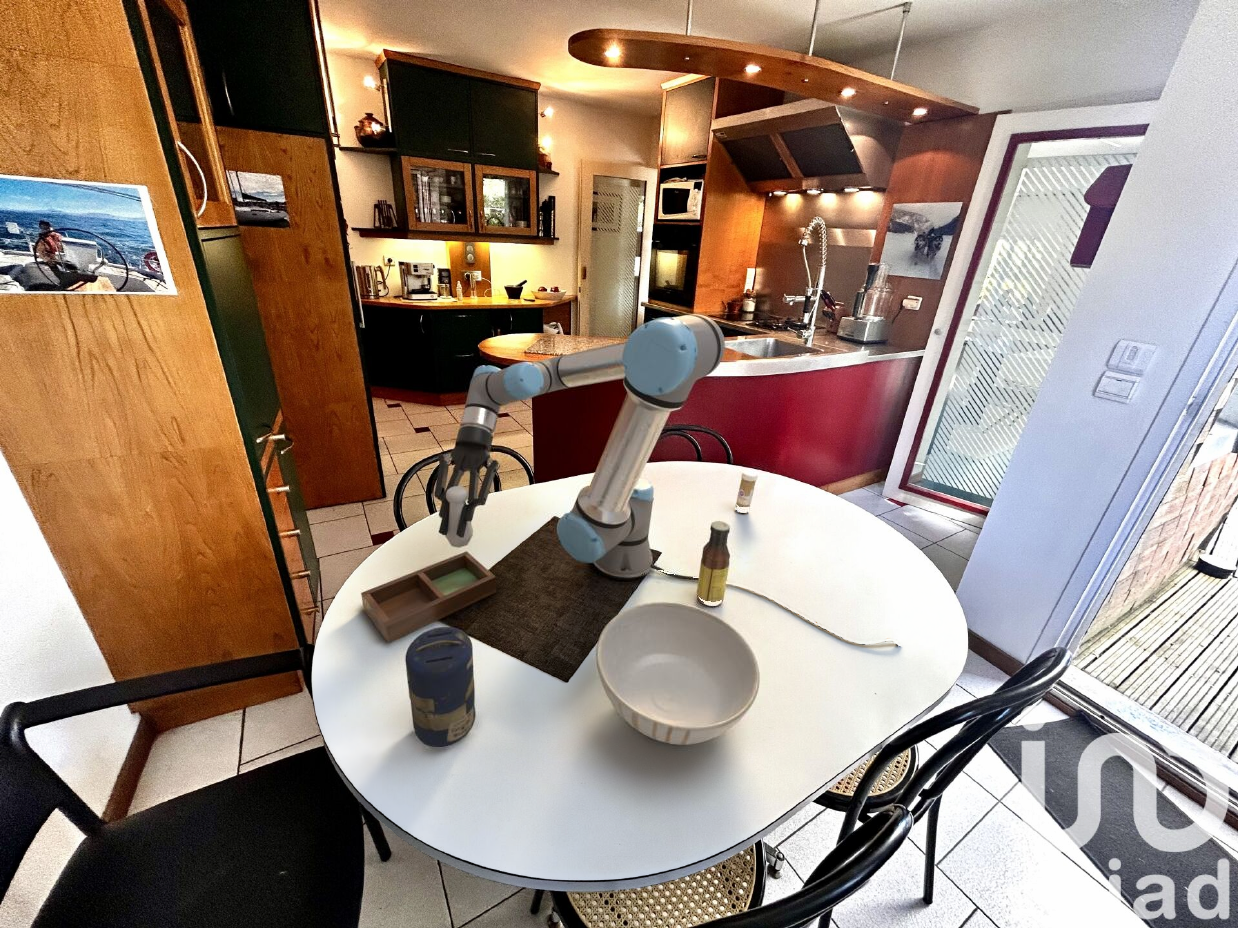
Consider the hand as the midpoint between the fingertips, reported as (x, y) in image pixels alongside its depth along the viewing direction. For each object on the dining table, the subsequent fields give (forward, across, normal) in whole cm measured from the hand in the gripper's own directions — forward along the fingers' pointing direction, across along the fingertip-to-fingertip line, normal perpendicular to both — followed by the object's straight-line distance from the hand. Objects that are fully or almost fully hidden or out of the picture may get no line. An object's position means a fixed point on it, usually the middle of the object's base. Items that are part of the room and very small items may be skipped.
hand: (451, 534), depth 101 cm
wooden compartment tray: (+13, +4, -9) cm, 16 cm away
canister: (+33, -11, +10) cm, 36 cm away
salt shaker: (0, 0, -6) cm, 6 cm away
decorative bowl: (+26, -47, +4) cm, 54 cm away
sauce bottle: (+5, -56, -18) cm, 59 cm away
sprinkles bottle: (-27, -70, -49) cm, 90 cm away
